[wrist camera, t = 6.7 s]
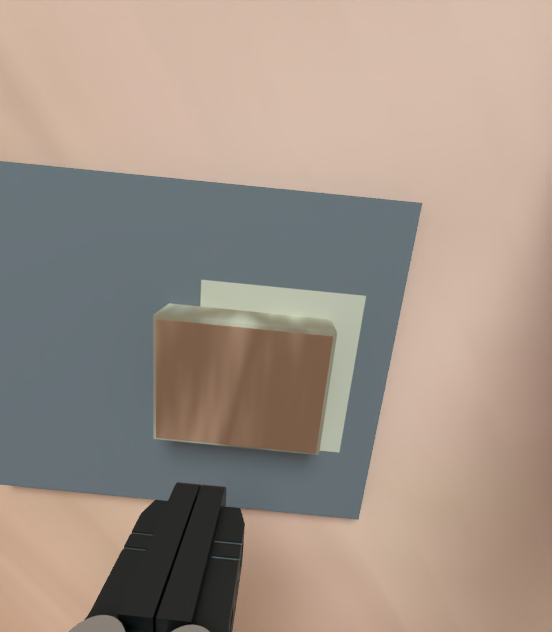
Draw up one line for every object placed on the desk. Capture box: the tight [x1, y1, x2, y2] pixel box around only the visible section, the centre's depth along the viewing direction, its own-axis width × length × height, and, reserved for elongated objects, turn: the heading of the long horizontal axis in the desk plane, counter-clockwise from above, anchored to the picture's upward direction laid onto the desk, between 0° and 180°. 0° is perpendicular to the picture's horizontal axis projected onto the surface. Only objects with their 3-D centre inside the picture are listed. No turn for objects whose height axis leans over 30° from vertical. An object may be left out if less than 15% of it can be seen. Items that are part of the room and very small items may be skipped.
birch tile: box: [153, 303, 337, 455], centre depth 18 cm, size 2×7×9 cm
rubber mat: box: [0, 161, 422, 519], centre depth 20 cm, size 24×20×1 cm
